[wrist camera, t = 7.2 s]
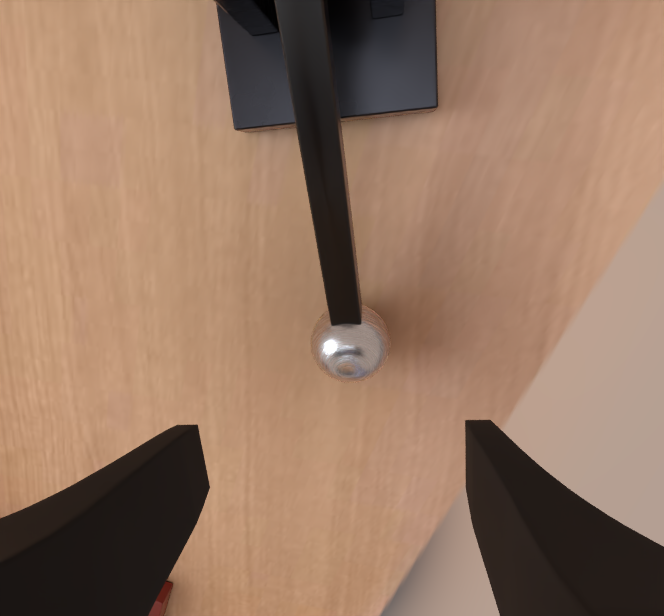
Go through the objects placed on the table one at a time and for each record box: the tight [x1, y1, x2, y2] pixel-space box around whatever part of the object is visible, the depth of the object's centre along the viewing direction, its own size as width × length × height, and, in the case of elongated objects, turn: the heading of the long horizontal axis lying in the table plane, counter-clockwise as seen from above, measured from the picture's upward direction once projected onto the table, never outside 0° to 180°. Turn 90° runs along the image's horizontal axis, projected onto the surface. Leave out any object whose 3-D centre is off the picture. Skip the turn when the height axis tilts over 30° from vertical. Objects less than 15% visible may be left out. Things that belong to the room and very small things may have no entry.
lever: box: [274, 0, 390, 383], centre depth 13 cm, size 17×3×3 cm, turn 5°
